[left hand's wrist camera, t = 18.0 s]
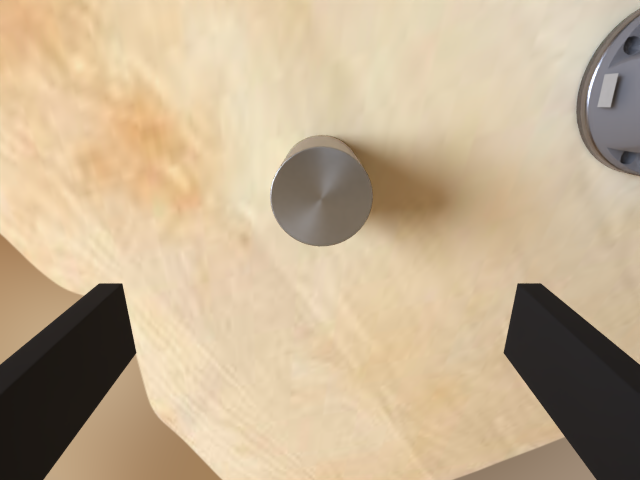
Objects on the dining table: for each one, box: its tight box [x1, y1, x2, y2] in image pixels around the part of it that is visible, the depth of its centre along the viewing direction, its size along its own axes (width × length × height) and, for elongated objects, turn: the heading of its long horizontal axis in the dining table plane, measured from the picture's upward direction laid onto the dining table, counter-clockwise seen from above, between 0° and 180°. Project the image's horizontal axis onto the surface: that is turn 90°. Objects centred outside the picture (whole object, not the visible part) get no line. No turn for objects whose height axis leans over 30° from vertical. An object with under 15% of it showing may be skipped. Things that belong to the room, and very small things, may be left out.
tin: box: [270, 135, 373, 246], centre depth 33 cm, size 8×8×10 cm
